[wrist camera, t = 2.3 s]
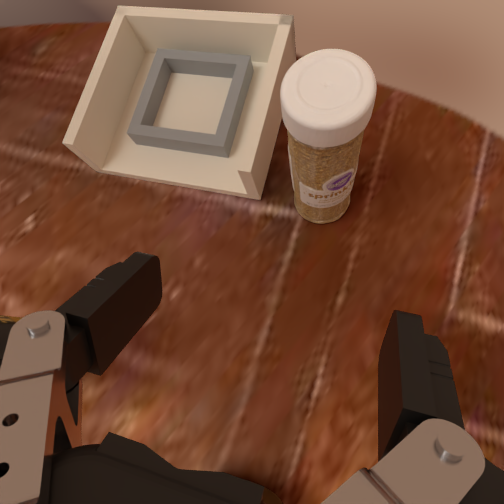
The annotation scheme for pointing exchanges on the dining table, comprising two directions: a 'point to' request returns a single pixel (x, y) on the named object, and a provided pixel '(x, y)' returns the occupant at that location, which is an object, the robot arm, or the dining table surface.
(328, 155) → the sprinkles bottle
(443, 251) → the dining table surface
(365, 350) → the dining table surface
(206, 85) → the caddy
